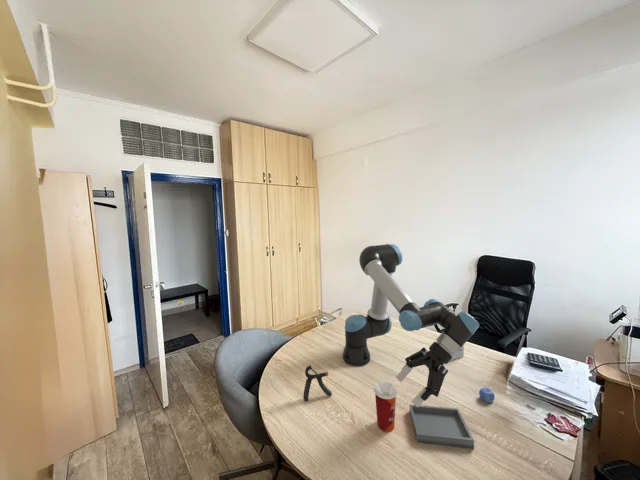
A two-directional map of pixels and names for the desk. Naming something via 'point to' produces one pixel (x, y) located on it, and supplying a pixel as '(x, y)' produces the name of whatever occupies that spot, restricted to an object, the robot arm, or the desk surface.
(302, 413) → the desk surface
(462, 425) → the tray
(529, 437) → the desk surface
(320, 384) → the hand grip strengthener
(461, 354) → the light bulb box
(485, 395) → the decorative dice
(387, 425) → the coffee cup
